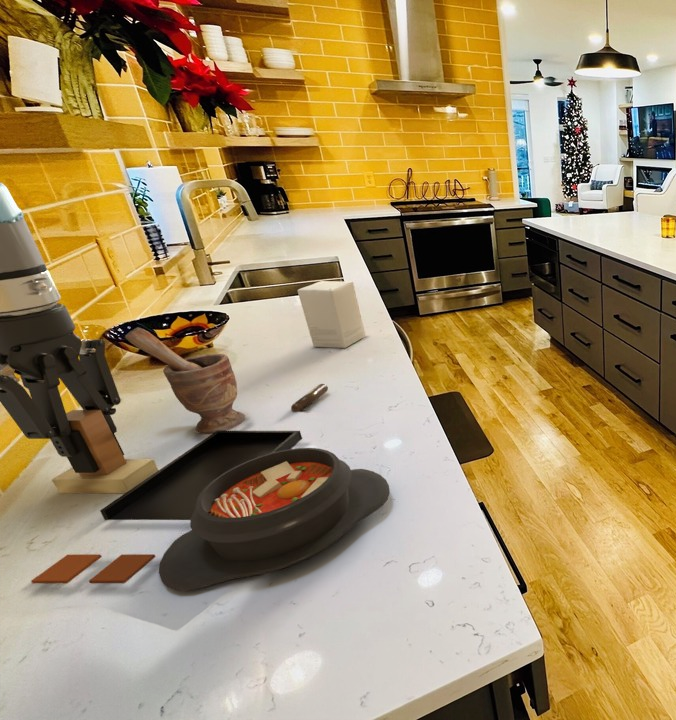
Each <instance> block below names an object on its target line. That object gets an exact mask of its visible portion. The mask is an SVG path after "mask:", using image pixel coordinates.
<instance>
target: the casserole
mask: <svg viewBox="0 0 676 720" xmlns="http://www.w3.org/2000/svg"><path fill="white" fill-rule="evenodd" d="M389 496H390V485H389V483H388V482H387V479H386V478H384V476H382V475H381V474H379V473H377V472H375V471H374V470H369V469H366V468H354V469H351V467H350V466H349V464H347V463H346V461H344V460H342V459H339V457H338V456H337V455H336V454H334V453H333V452H332V451H329V450H327V449H322V448H317V447H298V448H291V449H289V450H283V451H278V452H274V453H270V454H267V455H263V456H260V457H257V458H255V459H252V460H249V461H247V462H245V463H242V464H240V465H238V466H236V467H234V468H232V469H230V470H229V471H227V472H225V473H223V474H222V475H220V476H219V477H217V478H216V479H215V480H213V481H212V482H211V483H210V484H209V485H208V486H206V487H205V488H204V490H203V491H202V492H201V493H200V495H199V497H198V499H197V501H196V509H195V510H194V512H193V514H192V517H191V520H189V521H190V523H189V524H190V525H189V527H190V529H191V530H189V531H187V532H185V533H183V534H182V535H180V536H179V537H178V538H176V539H175V540H174V541H173V542H172V543H171V544H170V545H169V547H168V548H167V549H166V550H165V552H164V553H163V556H162V558H161V560H160V562H159V567H158V575H159V578H160V581H161V582H162V583H163V584H164V585H165V586H166V587H167V588H170V589H173V590H175V591H193V590H198V589H200V588H204V587H208V586H212V585H215V584H218V583H222V582H225V581H229V580H235V579H241V578H246V577H251V576H258V575H262V574H267V573H270V572H274V571H277V570H281V569H285V568H287V567H289V566H292V565H295V564H297V563H299V562H302V561H304V560H306V559H308V558H310V557H312V556H314V555H316V554H318V553H320V552H322V551H324V549H326V548H328V547H329V546H330V545H332V544H334V543H335V542H337V541H338V540H339V539H340V538H341V537H343V536H344V535H345V534H346V533H347V532H348V531H350V530H351V529H352V528H354V527H355V526H356V525H357V524H358V523H359V522H361V521H362V520H364V519H366V518H368V517H369V516H370V515H372V514H373V513H375V512H376V511H378V510H379V509H380V508H382V507H383V506H384V504H386V502H387V501H388V499H389Z"/></svg>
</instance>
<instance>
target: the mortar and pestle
mask: <svg viewBox="0 0 676 720" xmlns="http://www.w3.org/2000/svg"><path fill="white" fill-rule="evenodd" d="M124 339H125V340H127V341H128V342H129V343H131V344H132V345H133V346H134V347H136V348H138V349H140V350H142V351H143V352H144V353H147V354H149V355H151V356H153V357H155V358H157V359H158V360H160V361H161V362H163V363H165V364H166V366H165V367H164V368H163V371H162V372H163V374H164V376H165V378H166V380H167V382H168V383H169V385H170V388H171V390H172V392H173V395H174V396H175V398H176V399H177V400H178V401H179V403H180V404H181V405H182V406H183V407H184V408H185V410H187V411H188V412H190V413H193V414H197V415H199V417H200V420H199V421H198V422H197V424H196V426H195V431H196V433H197V434H200V435H201V434H202V435H211V434H213V433H214V432H216V431H230V430H231V429H233V428H235V427H238V426H239V425H241V424H242V423H244V421H245V420H246V416H245V414H244V413H242V412H240V411H237V410H236V409H233V405H234V402H235V401H236V399H237V397H238V382H237V378H236V376H235V373H234V370H233V368H232V364H231V361H230V358H229V356H228V355H227V354H224V353H204V354H199V355H198V354H197V355H194V356H190V357H185V358H183V357H182V356H180V355H178V354H177V353H176V352H174V351H173V350H172V349H171V348H169V347H168V346H167V345H166V344H164V343H163V342H162V341H161V340H160V339H159V338H157V336H155V335H154V334H152V333H151V332H150V331H148V330H145V329H144V328H141V327H139V326H138V327H135V328H133V329H132V330H130V331H129V332H128V333H127V334H125V335H124Z"/></svg>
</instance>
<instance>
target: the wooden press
mask: <svg viewBox="0 0 676 720" xmlns="http://www.w3.org/2000/svg"><path fill="white" fill-rule="evenodd" d="M66 415H67V418H68V421H69V425H70V428H71V430H79V431H80V433H81V435H82V437H83V438H84V440H85V442H86V444H87V446H88V448H89V450H90V452H91V454H92V456H93V458H94V460H95V461H96V463H97V465H98V467H99V469H100V470H98V471H97V472H95V473H75V471H74V469H73V467H71V468H69V469H67V470H66V471H64V472H62V473H60V474H59V475H56V476H55V477H53V478H52V479H51V482H52V483H53V485H54V486H55V487H54V488H55V489H56V490H57V492H58V494H125V493H126V492H128V491H129V490H131V489H132V488H134V487H135V486H137V485H138V484H140V483H141V482H142V481H144V480H145V479H147V478H148V477H150V476H151V475H153V474H154V473H156V472H157V471H159V470H160V469H159V468H158V467H157V464H156V462H155V459H154V458H125V455H123V454H122V452H121V450H120V448H119V446H118V444H117V442H116V440H115V438H114V436H113V434H112V432H111V430H110V428H109V426H108V424H107V422H106V420H105V418H104V416H103V414H102V412H101V410H83V409H72V410H70V411H68V412H66Z"/></svg>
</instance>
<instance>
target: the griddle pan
mask: <svg viewBox="0 0 676 720" xmlns="http://www.w3.org/2000/svg"><path fill="white" fill-rule="evenodd" d="M328 390H329V386H328V385H327V384H325V383H319V384H318V385H316V386H315V387H313V389H311V390H310V391H308V392H307V393H306V394H305V395H303V396H302V397H300V398H299V399H298V400H297V401H295V402H293V404H292V405H291V407H290V410H291V412H292V413H302V412H303V411H305V410H306V409H307V408H309V406H311V405H312V404H313V403H315V402H316V401H317V400H319V399H320V398H321V397H322V396H323V395H324V394H326V393H327V392H328ZM302 439H303V435H302V433H301V430H225V431H216V432H214V433H213V434H209V435H208V436H207V437H205V438H204V439H203V440H201V441H199V442H198V443H197V444H195V445H194V446H192V447H191V448H189V449H188V450H187V451H185V452H184V453H182V454H181V455H178V456H177V457H176V458H175V459H173V460H171V461H170V462H169V463H168V464H165V466H163V467H162V468H160V469H158V470H159V471H157V472H156V473H154V474H153V475H151V476H150V477H148V478H147V479H145V480H144V481H142V482H141V483H140V484H138V485H137V486H135V487H134V488H132V489H131V490H129V491H128V492H126V493H122V495H120V496H119V497H117V498H116V499H115V500H113V501H112V502H110V503H109V504H107V505H106V506H105V507H103V508H101V509H100V510H99V512H100V514H101V516H102V518H103V519H104V520H105V521H114V520H115V521H191V517H192V514H193V512H194V510H195V509H196V501H197V499H198V497H199V495H200V493H201V492H202V491H203V490H204V488H205V487H206V486H208V485H209V484H210V483H211V482H212V481H213V480H215V479H216V478H217V477H219V476H220V475H222V474H223V473H225V472H227V471H229V470H230V469H232V468H234V467H236V466H238V465H240V464H242V463H245V462H247V461H249V460H252V459H255V458H257V457H260V456H263V455H267V454H270V453H274V452H278V451H283V450H289V449H293V447H294V446H296V445H297V444H298V443H300V441H302Z"/></svg>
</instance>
